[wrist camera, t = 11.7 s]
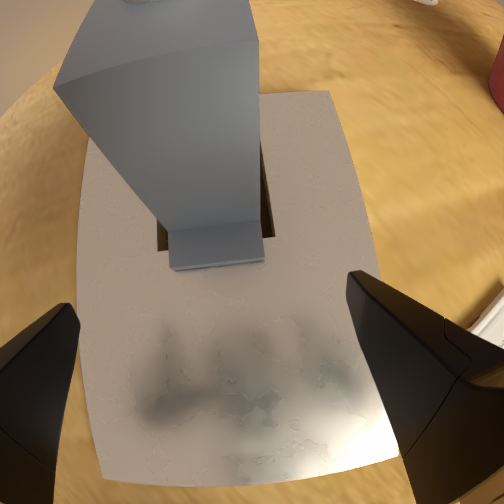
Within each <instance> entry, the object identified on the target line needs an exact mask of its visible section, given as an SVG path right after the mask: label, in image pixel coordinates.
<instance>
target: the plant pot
mask: <svg viewBox="0 0 504 504" xmlns="http://www.w3.org/2000/svg"><path fill="white" fill-rule="evenodd" d="M488 84H489V88H490V91H491V94H492V96H493V98H494V100H495V101H496V103H497V105H498V106H499V108H500V109H501V110H502V112H503V113H504V36H503V39H502V42H501V45H500V48H499V51H498V53H497V56H496V59H495V62H494V65H493V68H492V71H491V73H490V76H489V78H488Z"/></svg>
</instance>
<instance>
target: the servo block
mask: <svg viewBox="0 0 504 504" xmlns="http://www.w3.org/2000/svg"><path fill="white" fill-rule="evenodd" d="M53 89H54V90H55V92H56V93H57V94H58V96H59V97H60V99H61V100H62V101H63V103H64V104H65V105H66V107H67V108H68V109H69V111H70V112H71V113H72V115H73V116H74V117H75V118H76V120H77V121H78V122H79V124H80V125H81V126H82V128H83V129H84V130H85V131H86V133H87V134H88V135H89V137H90V138H91V139H92V140H93V142H94V143H95V144H96V146H97V147H98V148H99V149H100V151H101V152H102V153H103V154H104V156H105V157H106V158H107V159H108V161H109V162H110V163H111V164H112V166H113V167H114V168H115V169H116V171H117V172H118V173H119V174H120V175H121V177H122V178H123V179H124V180H125V182H126V183H127V184H128V185H129V186H130V188H131V189H132V190H133V191H134V192H135V194H136V195H137V196H138V197H139V198H140V200H141V201H142V202H143V203H144V204H145V206H146V207H147V208H148V209H149V210H150V211H151V213H152V214H153V215H154V216H155V217H156V218H157V220H158V221H159V222H160V223H161V224H162V225H163V227H164V228H165V229H166V230H167V231H168V248H169V268H170V269H171V270H182V269H191V268H200V267H209V266H218V265H226V264H235V263H244V262H253V261H261V260H265V254H264V246H263V238H262V230H261V222H260V99H259V40H258V36H257V31H256V27H255V23H254V20H253V16H252V12H251V8H250V4H249V0H95V1H94V3H93V4H92V6H91V8H90V10H89V11H88V13H87V15H86V17H85V18H84V20H83V22H82V24H81V26H80V28H79V30H78V32H77V34H76V36H75V38H74V40H73V42H72V44H71V46H70V48H69V51H68V53H67V55H66V57H65V59H64V61H63V64H62V66H61V68H60V71H59V73H58V76H57V78H56V81H55V83H54V86H53Z"/></svg>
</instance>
